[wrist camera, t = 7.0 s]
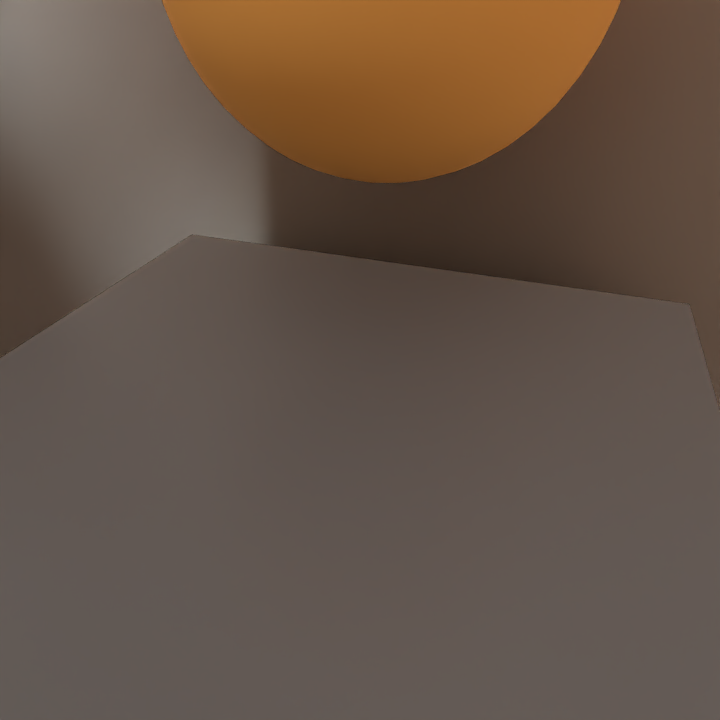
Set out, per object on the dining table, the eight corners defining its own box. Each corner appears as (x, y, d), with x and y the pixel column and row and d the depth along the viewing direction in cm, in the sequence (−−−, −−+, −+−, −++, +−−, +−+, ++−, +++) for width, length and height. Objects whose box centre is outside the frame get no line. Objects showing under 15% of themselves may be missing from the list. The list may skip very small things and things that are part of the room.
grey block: (233, 550, 15) (-114, 1101, 7) (192, 234, 11) (-664, 785, 3) (577, 645, 13) (554, 1515, 6) (689, 304, 9) (1151, 1938, 1)
